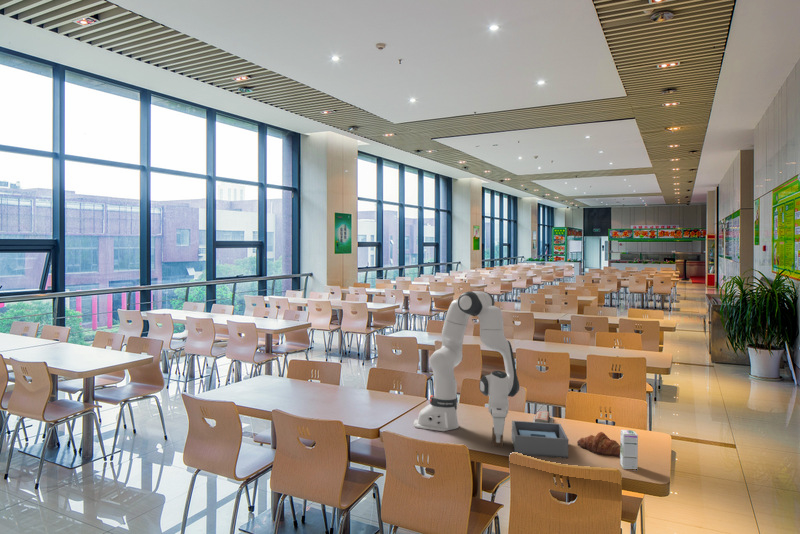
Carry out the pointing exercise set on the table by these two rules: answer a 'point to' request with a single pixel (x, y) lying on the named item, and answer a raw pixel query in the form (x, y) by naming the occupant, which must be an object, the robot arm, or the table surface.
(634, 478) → the table surface
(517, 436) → the open box
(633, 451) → the syrup box
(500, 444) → the peg
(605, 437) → the pastry
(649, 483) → the table surface
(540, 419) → the packaged product
